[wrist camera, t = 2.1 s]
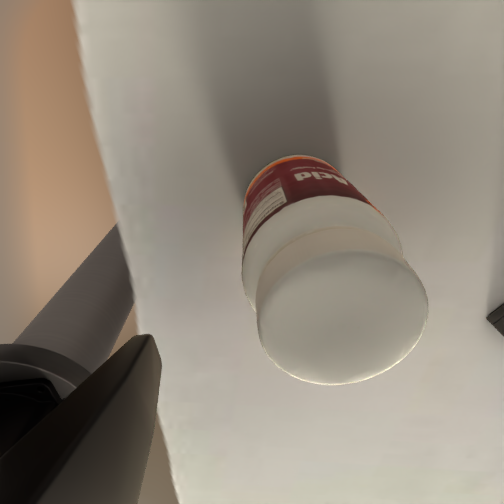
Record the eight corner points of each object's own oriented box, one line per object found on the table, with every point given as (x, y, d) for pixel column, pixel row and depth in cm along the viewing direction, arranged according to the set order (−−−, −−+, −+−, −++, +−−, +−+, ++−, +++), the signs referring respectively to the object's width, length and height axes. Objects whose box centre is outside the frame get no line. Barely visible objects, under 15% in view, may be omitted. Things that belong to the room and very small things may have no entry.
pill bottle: (368, 186, 15) (494, 295, 7) (307, 267, 17) (359, 418, 9) (279, 129, 14) (322, 191, 6) (223, 223, 16) (206, 356, 8)
